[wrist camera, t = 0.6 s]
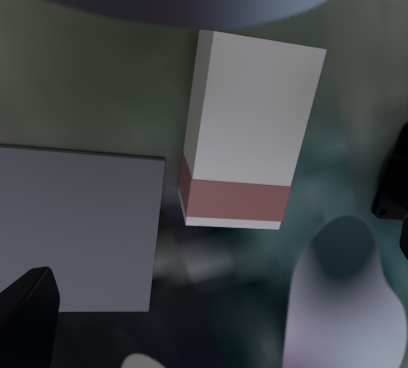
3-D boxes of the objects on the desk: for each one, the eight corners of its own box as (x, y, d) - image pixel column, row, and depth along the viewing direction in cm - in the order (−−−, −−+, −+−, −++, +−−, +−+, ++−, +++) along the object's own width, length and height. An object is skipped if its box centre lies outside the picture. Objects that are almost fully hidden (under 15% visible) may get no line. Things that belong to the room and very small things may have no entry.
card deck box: (291, 44, 19) (328, 49, 15) (257, 195, 22) (280, 230, 19) (198, 29, 18) (213, 30, 14) (177, 190, 21) (184, 225, 18)
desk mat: (164, 158, 20) (165, 161, 20) (148, 307, 25) (148, 311, 24) (-97, 136, 18) (-102, 138, 17) (-64, 307, 22) (-68, 312, 22)
